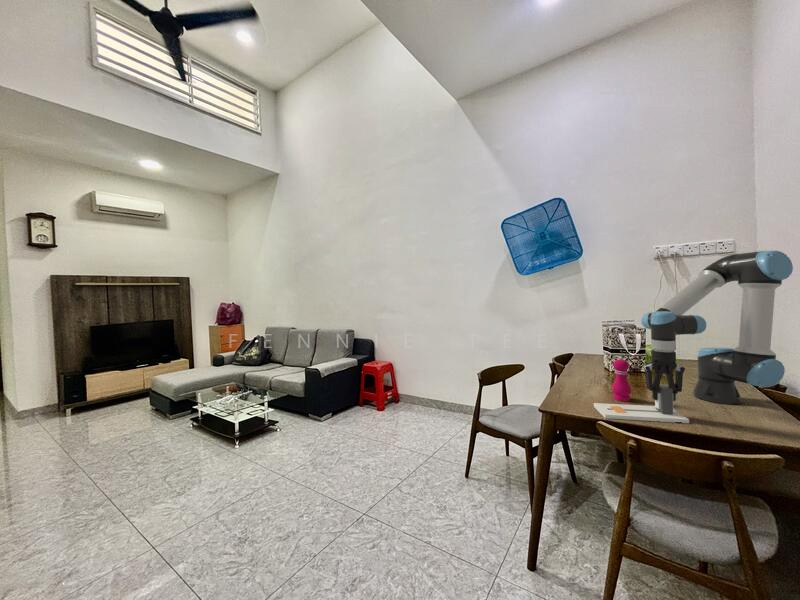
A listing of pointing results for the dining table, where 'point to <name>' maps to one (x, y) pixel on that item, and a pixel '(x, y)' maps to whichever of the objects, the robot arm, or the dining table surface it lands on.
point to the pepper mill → (621, 381)
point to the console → (638, 413)
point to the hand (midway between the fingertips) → (664, 408)
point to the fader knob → (666, 399)
